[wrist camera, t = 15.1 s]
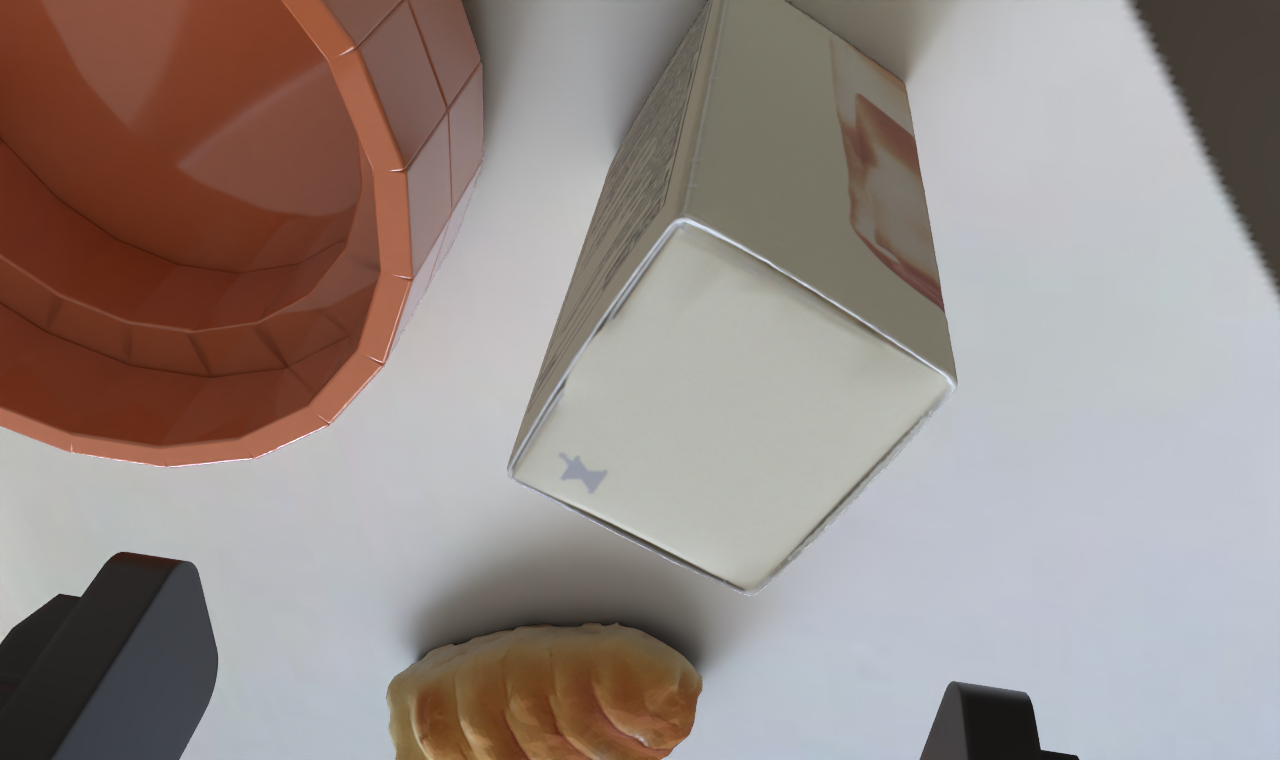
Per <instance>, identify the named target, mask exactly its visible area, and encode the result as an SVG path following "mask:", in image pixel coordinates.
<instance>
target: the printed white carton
mask: <svg viewBox="0 0 1280 760" xmlns="http://www.w3.org/2000/svg"><path fill="white" fill-rule="evenodd" d="M956 388H957V375H956V369H955V362H954V357H953V352H952V347H951V341H950V335H949V331H948V322H947V319H946V316H945V310H944V304H943V299H942V293H941V286H940V279H939V272H938V266H937V262H936V257H935V251H934V244H933V238H932V232H931V226H930V221H929V215H928V209H927V204H926V198H925V190H924V187H923V182H922V177H921V172H920V166H919V160H918V154H917V147H916V141H915V135H914V130H913V123H912V117H911V111H910V106H909V101H908V96H907V91H906V86H905V84H904V83H903V82H902V81H901V80H900V79H899V78H898V77H896V76H895V75H893V74H892V73H891V72H889V71H888V70H886V69H885V68H883V67H882V66H881V65H879V64H878V63H876V62H875V61H873V60H872V59H870V58H869V57H867V56H866V55H865V54H863V53H862V52H860V51H859V50H857V49H856V48H855V47H853V46H852V45H850V44H849V43H847V42H846V41H844V40H843V39H841V38H840V37H838V36H837V35H835V34H834V33H833V32H831V31H830V30H828V29H827V28H825V27H824V26H822V25H821V24H819V23H818V22H816V21H815V20H813V19H812V18H810V17H809V16H807V15H806V14H804V13H803V12H801V11H800V10H798V9H796V8H795V7H793V6H792V5H790V4H789V3H787V2H786V1H784V0H708V1H707V3H706V5H705V6H704V8H703V9H702V11H701V13H700V14H699V16H698V17H697V19H696V20H695V22H694V23H693V25H692V27H691V28H690V30H689V31H688V33H687V35H686V36H685V38H684V39H683V41H682V42H681V44H680V46H679V48H678V49H677V51H676V53H675V54H674V56H673V57H672V59H671V61H670V62H669V64H668V66H667V67H666V69H665V71H664V72H663V74H662V76H661V77H660V79H659V81H658V82H657V84H656V86H655V87H654V89H653V91H652V92H651V94H650V96H649V97H648V99H647V101H646V103H645V104H644V106H643V108H642V110H641V111H640V113H639V115H638V116H637V118H636V120H635V122H634V123H633V125H632V127H631V129H630V130H629V132H628V134H627V136H626V138H625V139H624V141H623V143H622V145H621V146H620V148H619V150H618V152H617V154H616V155H615V157H614V159H613V161H612V163H611V165H610V167H609V170H608V173H607V176H606V179H605V182H604V186H603V189H602V192H601V194H600V197H599V200H598V203H597V206H596V209H595V212H594V215H593V218H592V220H591V223H590V226H589V229H588V232H587V235H586V238H585V241H584V244H583V247H582V250H581V253H580V256H579V258H578V261H577V264H576V267H575V271H574V274H573V276H572V279H571V283H570V285H569V288H568V291H567V294H566V296H565V299H564V302H563V305H562V308H561V311H560V313H559V316H558V319H557V322H556V325H555V328H554V331H553V334H552V337H551V340H550V342H549V345H548V348H547V351H546V354H545V357H544V360H543V363H542V366H541V369H540V372H539V375H538V378H537V380H536V383H535V386H534V389H533V392H532V395H531V398H530V401H529V403H528V406H527V409H526V412H525V415H524V418H523V421H522V424H521V427H520V430H519V433H518V436H517V439H516V442H515V445H514V448H513V451H512V454H511V457H510V460H509V463H508V467H507V472H508V477H509V478H511V479H512V480H514V481H515V482H517V483H518V484H520V485H522V486H524V487H526V488H527V489H529V490H531V491H533V492H535V493H538V494H540V495H542V496H544V497H546V498H548V499H550V500H551V501H553V502H555V503H558V504H560V505H562V506H564V507H565V508H567V509H568V510H570V511H572V512H575V513H577V514H579V515H581V516H583V517H584V518H586V519H589V520H591V521H593V522H594V523H596V524H598V525H600V526H602V527H604V528H606V529H608V530H610V531H611V532H613V533H615V534H616V535H619V536H621V537H623V538H625V539H627V540H629V541H631V542H633V543H635V544H637V545H639V546H641V547H644V548H646V549H648V550H650V551H652V552H654V553H656V554H658V555H660V556H661V557H663V558H665V559H666V560H669V561H671V562H673V563H675V564H677V565H679V566H681V567H684V568H686V569H688V570H691V571H693V572H695V573H697V574H698V575H701V576H703V577H705V578H707V579H709V580H712V581H715V582H717V583H719V584H722V585H724V586H726V587H728V588H730V589H732V590H734V591H736V592H739V593H742V594H743V595H748V596H754V595H756V594H758V593H760V592H761V591H763V590H764V588H765V587H767V586H768V585H769V584H770V583H771V582H772V581H773V580H774V579H775V578H776V577H778V576H779V575H780V574H781V573H782V572H783V570H784V569H785V568H786V567H787V566H788V565H790V564H791V563H792V562H793V561H794V560H795V559H796V558H797V557H798V556H799V555H800V554H801V553H802V552H803V551H804V550H805V549H806V548H808V547H809V546H810V545H811V544H812V543H813V542H814V541H815V540H816V539H817V538H818V537H819V536H820V535H821V534H822V533H823V532H824V531H825V530H826V529H827V528H828V527H829V526H830V525H831V524H832V523H833V522H834V521H835V520H836V519H837V518H838V517H839V516H840V515H841V514H842V513H843V512H844V511H845V510H846V509H847V508H848V507H849V506H850V505H851V504H852V503H853V502H854V501H855V500H856V499H857V498H858V497H859V495H860V494H861V493H862V492H863V491H864V490H865V489H866V488H867V487H868V486H869V485H870V484H871V483H872V482H873V481H874V479H875V478H876V477H877V476H878V475H880V474H881V473H882V472H883V471H884V470H885V469H886V468H887V467H888V465H889V464H890V463H891V462H892V461H893V460H894V458H895V457H896V456H897V455H898V454H899V453H900V452H901V451H902V450H903V449H904V448H905V447H906V446H907V445H908V444H909V443H910V441H911V440H912V439H913V437H914V436H915V435H916V434H917V433H918V432H919V431H920V430H921V429H922V428H923V426H924V425H925V423H926V422H927V421H928V420H929V419H930V418H931V417H932V416H933V415H934V414H935V413H936V411H937V410H938V409H939V408H940V407H941V405H942V404H943V402H944V401H946V400H947V399H948V398H949V396H950V395H951V394H952V393H953V392H954V391H955V389H956Z"/></svg>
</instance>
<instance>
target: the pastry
mask: <svg viewBox="0 0 1280 760" xmlns="http://www.w3.org/2000/svg"><path fill="white" fill-rule="evenodd" d="M701 691H702V676H701V675H700V674H699V673H698V672H697V671H696V670H695V668H694V667H693V665H692V664H691V663H690V662H689V661H688V660H687V659H686V658H685V657H684V656H683V655H682V654H680V653H679V652H677V651H676V650H674V649H673V648H671V647H669V646H668V645H666V644H664V643H663V642H661V641H659V640H658V639H656V638H654V637H652V636H650V635H648V634H646V633H645V632H643V631H640V630H638V629H634V628H629V627H623V626H620V625H619V624H618V622H616V623H615V624H613V625H608V626H602V625H601V624H599V623H585V624H584V625H582V626H579V627H554V626H551V625H547V624H540V625H533V626H521V627H518V628H516V629H515V630H514V631H513V630H506V631H498V632H494V633H491V634H488V635H485V636H478V637H474V638H472V639H471V640H470V641H469V642H466V643H463V644H459V645H455V646H454V645H453V644H449V645H446V646H443V647H439V648H436V649H434V650H432V651H430V652H429V653H428V654H427V655H426V656H425V657H424V658H423V659H422V660H420V661H418V662H416V663H413V664H412V665H410V666H409V667H408V668H407V669H406V670H404V671H402V672H401V673H399V674H398V675H396V676H395V677H394V678H393V680H392V681H391V683H390V684H389V686H388V691H387V696H386V700H387V705H388V708H389V712H390V722H389V733H390V736H391V739H392V742H393V744H394V747H395V751H396V760H661V759H663V758H664V757H666V756H668V755H669V754H670V753H671V751H672V750H673V748H674V747H676V746H677V745H678V744H679V743H680V742H682V741H683V740H684V739H685V738H686V737H687V736H688V735H689V734H690V732H691V729H692V727H693V724H694V719H695V712H696V704H697V698H698V696H699V694H700V693H701Z"/></svg>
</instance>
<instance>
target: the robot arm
mask: <svg viewBox="0 0 1280 760" xmlns="http://www.w3.org/2000/svg"><path fill="white" fill-rule="evenodd" d="M217 669H218V652H217V647H216V643H215V639H214V635H213V630H212V626H211V622H210V618H209V614H208V610H207V606H206V602H205V597H204V593H203V589H202V585H201V581H200V577H199V573H198V570H197V568H196V566H195V565H194V564H193V563H191V562H189V561H182V560H176V559H169V558H163V557H156V556H149V555H143V554H136V553H130V552H120V553H117V554H115V555H114V556H112V557H111V558H110V559H109V560H108V561H107V562H106V563H105V565H104V566H103V567H102V568H101V570H100V571H99V573H98V574H97V576H96V577H95V578H94V580H93V581H92V583H91V584H90V585H89V587H88V588H87V590H86V591H85V592H84V594H83V595H82V597H77V596H70V595H64V594H58V595H57V596H56V597H54V598H53V599H52V600H50V601H49V602H48V603H46V604H45V605H43V606H42V607H41V608H39V609H38V610H37V611H35V612H34V613H33V614H31V615H30V616H29V617H27V618H26V619H24V620H23V621H22V622H20V623H19V624H18V625H16V626H15V627H14V628H12V629H11V631H10V632H9V633H8V635H7V636H6V637H5V639H4V640H3V641H2V643H1V644H0V760H179V759H180V757H181V755H182V754H183V752H184V750H185V748H186V746H187V744H188V742H189V740H190V739H191V737H192V735H193V733H194V731H195V729H196V727H197V725H198V724H199V722H200V720H201V718H202V716H203V714H204V712H205V710H206V708H207V706H208V704H209V701H210V699H211V696H212V693H213V690H214V686H215V682H216V677H217ZM920 760H1079V758H1078V757H1077V756H1076V755H1070V754H1063V753H1057V752H1051V751H1044V750H1041V749H1040V743H1039V737H1038V732H1037V726H1036V720H1035V715H1034V710H1033V706H1032V703H1031V700H1030V698H1029V696H1028V695H1027V694H1026V693H1025V692H1021V691H1014V690H1007V689H1001V688H994V687H988V686H981V685H975V684H968V683H962V682H955V681H953V682H951V683H950V684H949V685H948V687H947V689H946V691H945V693H944V696H943V699H942V701H941V704H940V707H939V709H938V712H937V715H936V717H935V720H934V723H933V725H932V728H931V731H930V733H929V736H928V739H927V741H926V744H925V747H924V749H923V752H922V755H921V757H920Z"/></svg>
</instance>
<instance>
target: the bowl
mask: <svg viewBox="0 0 1280 760" xmlns="http://www.w3.org/2000/svg"><path fill="white" fill-rule="evenodd" d="M483 157H484V129H483V67H482V63H481V62H480V55H479V52H478V49H477V46H476V43H475V40H474V37H473V34H472V31H471V28H470V25H469V22H468V19H467V16H466V13H465V10H464V7H463V4H462V1H461V0H0V426H1V427H4V428H7V429H9V430H12V431H14V432H17V433H20V434H22V435H25V436H28V437H30V438H33V439H35V440H38V441H41V442H43V443H46V444H48V445H51V446H54V447H56V448H59V449H62V450H64V451H67V452H69V453H73V452H74V453H76V454H81V455H87V456H94V457H100V458H107V459H113V460H119V461H126V462H132V463H139V464H145V465H152V466H158V467H164V468H165V467H170V468H173V467H183V466H193V465H202V464H212V463H222V462H232V461H241V460H251V459H254V458H256V459H257V458H260V457H262V456H264V455H266V454H268V453H271V452H273V451H275V450H277V449H279V448H281V447H284V446H286V445H288V444H290V443H292V442H295V441H297V440H299V439H301V438H303V437H305V436H308V435H310V434H312V433H314V432H316V431H319V430H321V429H323V428H325V427H327V426H329V425H330V423H332V422H334V421H335V419H336V418H337V417H338V416H339V415H340V414H341V413H342V412H343V411H344V410H345V409H346V407H347V406H348V405H349V404H350V403H351V402H352V401H353V400H354V399H355V398H356V397H357V395H358V394H359V393H360V392H361V391H362V390H363V389H364V388H365V387H366V386H367V385H368V383H369V382H370V381H371V380H372V379H373V378H374V377H375V376H376V375H377V374H378V372H379V371H380V370H381V369H382V368H383V367H384V366H385V364H386V362H387V361H388V359H389V357H390V355H391V354H392V352H393V350H394V348H395V346H396V345H397V343H398V341H399V339H400V337H401V336H402V334H403V332H404V330H405V328H406V327H407V325H408V323H409V321H410V319H411V318H412V316H413V314H414V312H415V310H416V309H417V307H418V305H419V303H420V301H421V300H422V298H423V296H424V294H425V292H426V291H427V289H428V287H429V285H430V283H431V282H432V280H433V278H434V276H435V274H436V273H437V271H438V269H439V267H440V265H441V264H442V262H443V260H444V258H445V256H446V255H447V253H448V251H449V249H450V247H451V246H452V244H453V242H454V240H455V238H456V237H457V235H458V232H459V229H460V226H461V223H462V220H463V217H464V215H465V212H466V209H467V206H468V203H469V200H470V197H471V194H472V192H473V189H474V186H475V183H476V180H477V177H478V174H479V171H480V169H481V166H482V163H483Z"/></svg>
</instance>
